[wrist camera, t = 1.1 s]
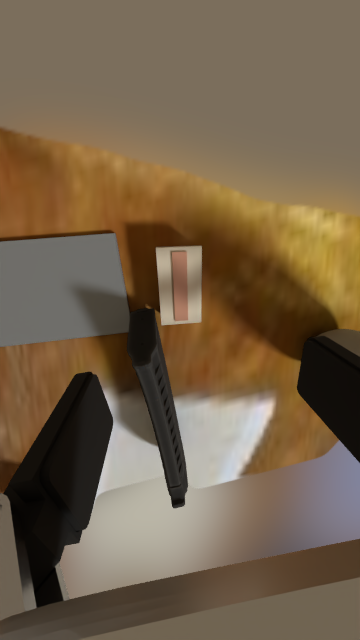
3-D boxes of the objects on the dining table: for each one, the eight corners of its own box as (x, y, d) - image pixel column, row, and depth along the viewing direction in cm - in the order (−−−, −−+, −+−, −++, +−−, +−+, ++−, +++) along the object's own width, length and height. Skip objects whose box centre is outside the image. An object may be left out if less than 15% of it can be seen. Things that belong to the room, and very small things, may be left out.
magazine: (113, 314, 18) (170, 585, 21) (147, 308, 18) (199, 578, 21) (139, 308, 35) (168, 458, 38) (157, 305, 35) (185, 455, 38)
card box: (194, 310, 29) (201, 323, 24) (160, 312, 28) (161, 326, 24) (194, 245, 25) (202, 246, 21) (155, 246, 25) (155, 247, 20)
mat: (133, 329, 28) (132, 331, 28) (-12, 346, 27) (-16, 348, 26) (115, 233, 23) (114, 233, 23) (-64, 246, 22) (-70, 246, 21)
